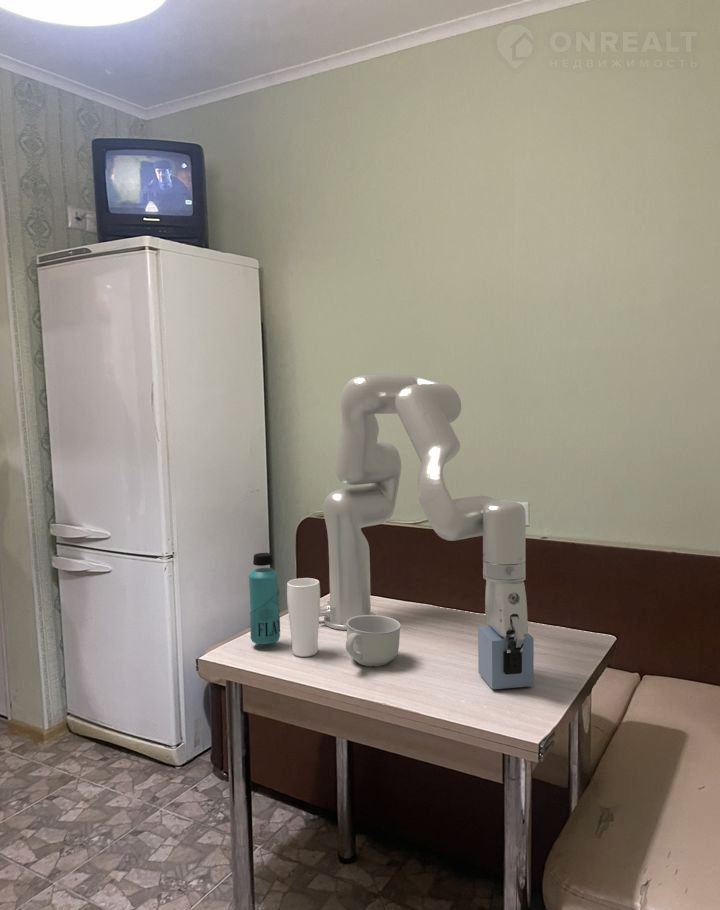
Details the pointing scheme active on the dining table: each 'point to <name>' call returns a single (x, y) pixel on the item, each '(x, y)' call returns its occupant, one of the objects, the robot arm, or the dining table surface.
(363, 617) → the teacup
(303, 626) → the drinking glass
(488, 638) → the pale blue cube
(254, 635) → the beverage bottle
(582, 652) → the dining table surface
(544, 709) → the dining table surface
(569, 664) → the dining table surface
